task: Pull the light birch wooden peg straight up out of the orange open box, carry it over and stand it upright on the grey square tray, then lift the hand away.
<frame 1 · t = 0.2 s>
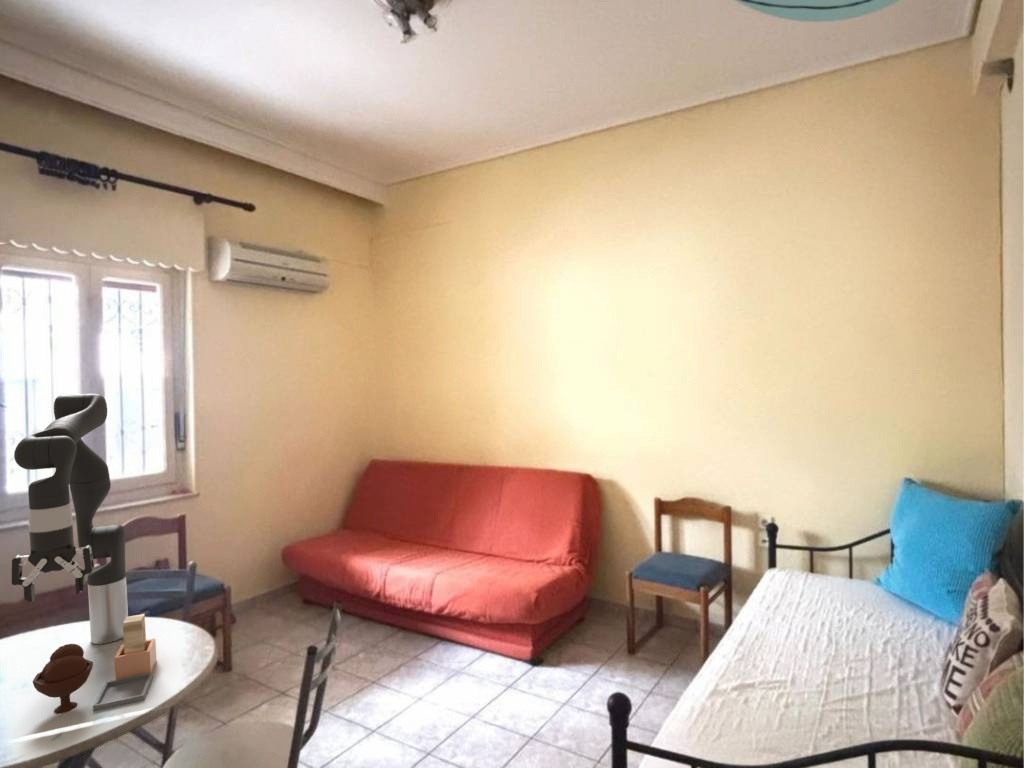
hand: (55, 596, 127), 29 cm above the table, tool pointing down, fingers open, 8 cm apart
grey square tray: (124, 696, 137), on the table
birch peg: (136, 671, 147), point 1 cm above the table, touching orange open box
orange open box: (136, 674, 147), on the table
ice cream bowl: (66, 711, 132), on the table
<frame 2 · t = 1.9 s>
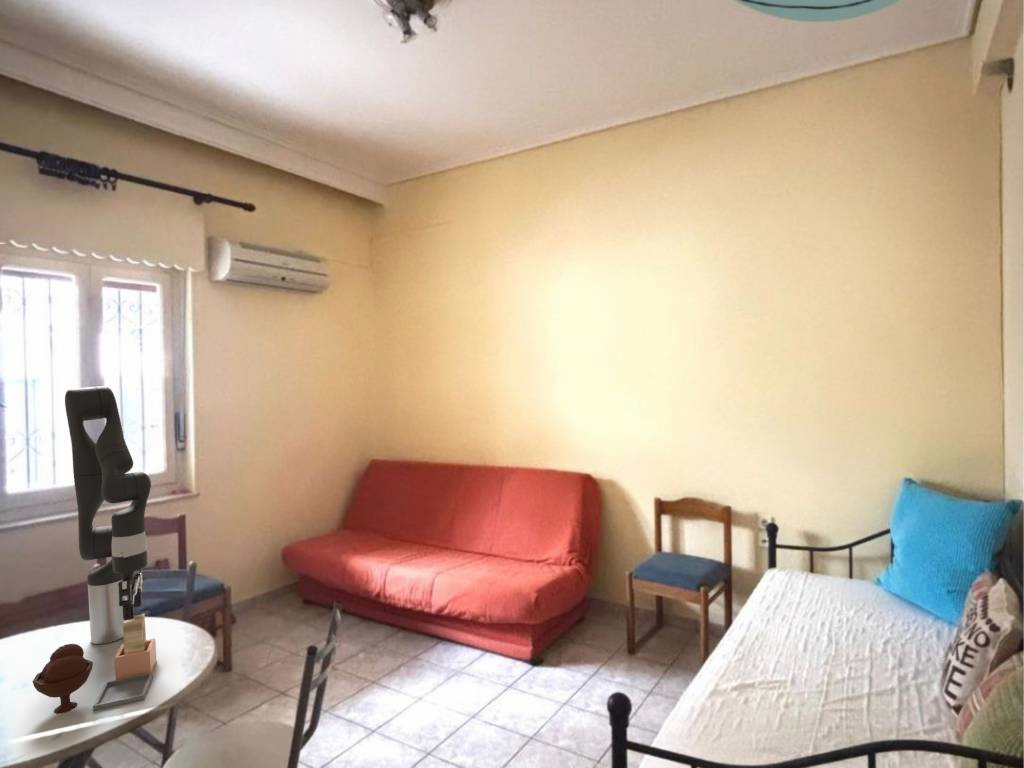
hand: (132, 612, 146), 16 cm above the table, tool pointing down, fingers open, 8 cm apart
nothing on the table moved.
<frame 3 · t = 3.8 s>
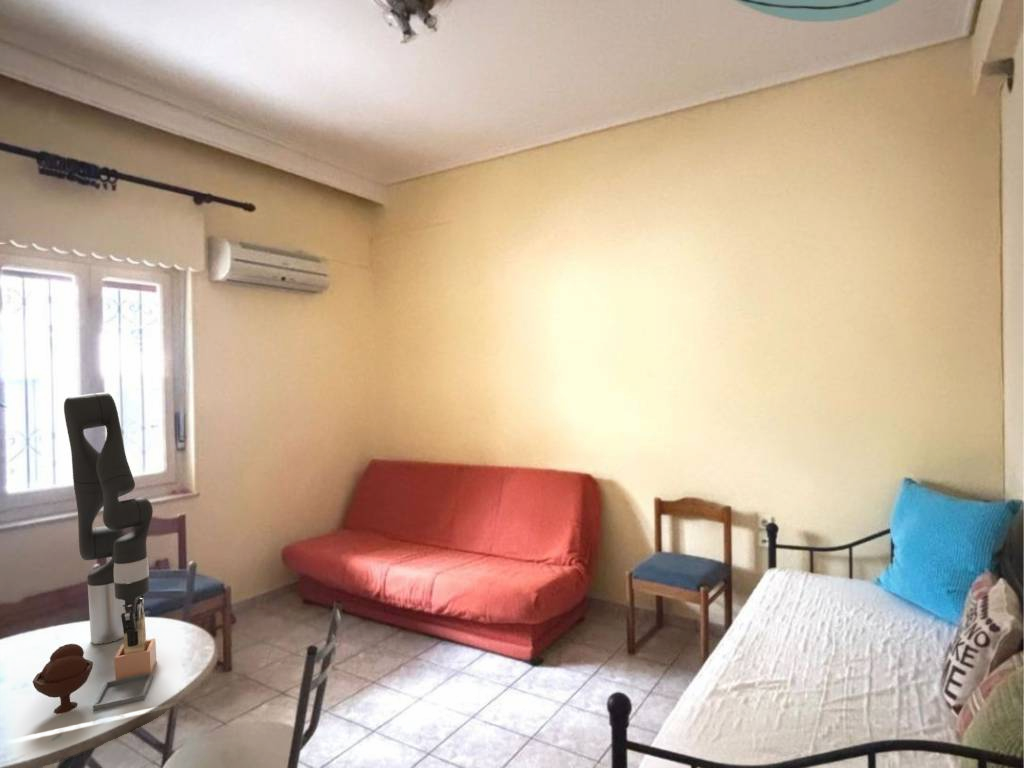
hand: (135, 641, 147), 9 cm above the table, tool pointing down, fingers closed on birch peg, 4 cm apart
birch peg: (136, 671, 147), point 1 cm above the table, touching gripper, orange open box
everything else where it was.
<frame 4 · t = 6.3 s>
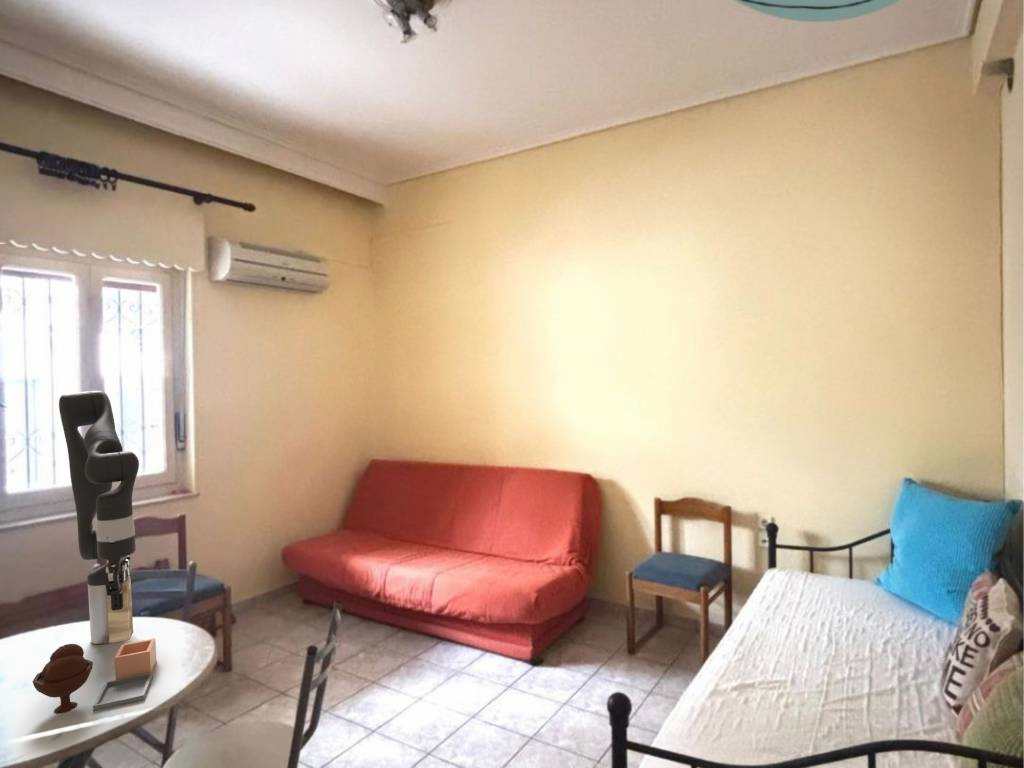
hand: (119, 605, 137), 22 cm above the table, tool pointing down, fingers closed on birch peg, 4 cm apart
birch peg: (121, 637, 137), point 15 cm above the table, touching gripper
everything else where it was.
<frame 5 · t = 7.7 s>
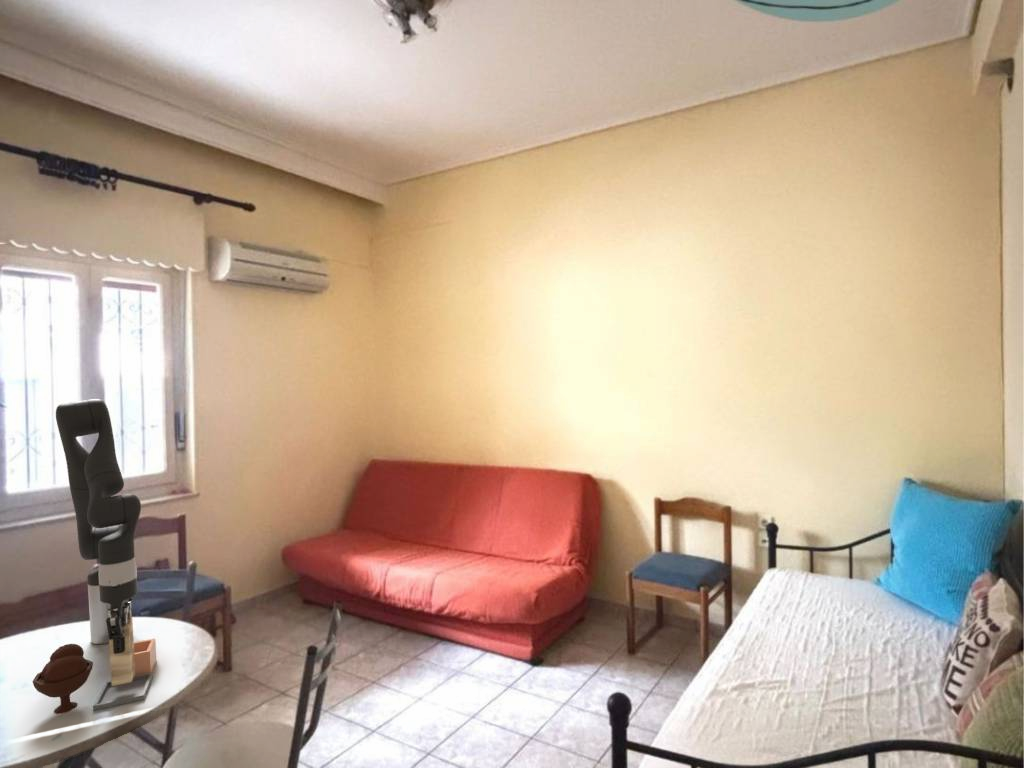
hand: (121, 647, 137), 12 cm above the table, tool pointing down, fingers closed on birch peg, 4 cm apart
birch peg: (123, 679, 137), point 4 cm above the table, touching gripper
everything else where it was.
when the fingers open (10 cm above the table, at t = 8.8 s): birch peg drops 1 cm, resting on grey square tray.
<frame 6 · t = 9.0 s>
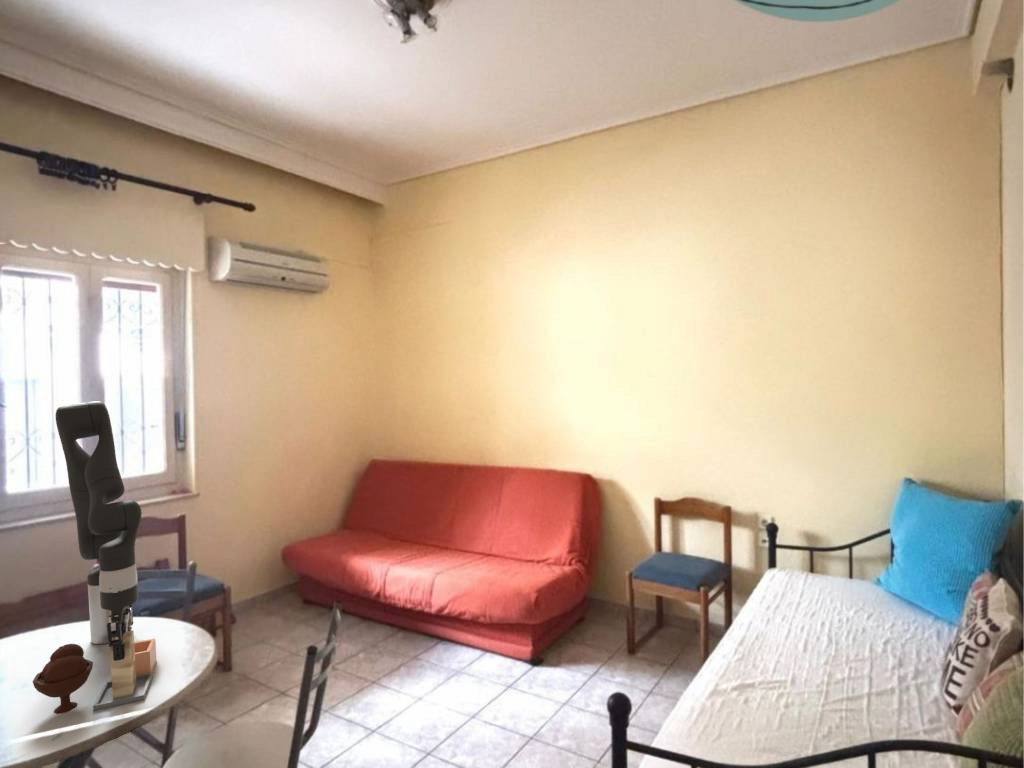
hand: (122, 653, 137), 11 cm above the table, tool pointing down, fingers open, 5 cm apart
birch peg: (124, 691, 137), point 1 cm above the table, touching grey square tray
everything else where it was.
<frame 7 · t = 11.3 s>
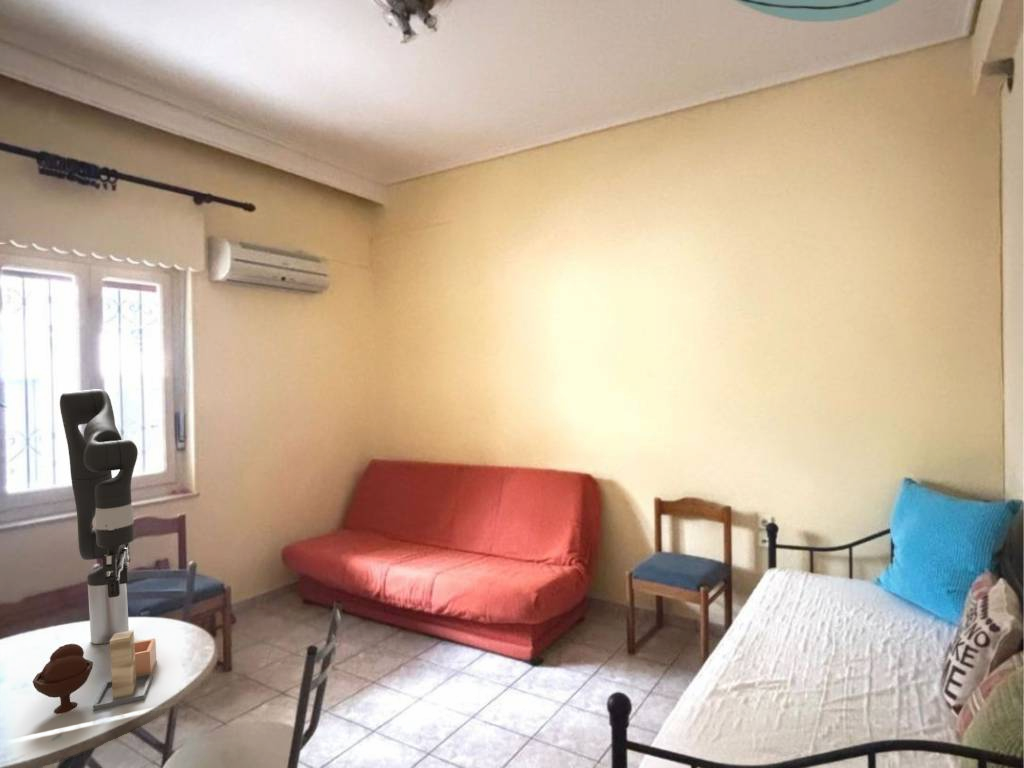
hand: (118, 589, 137), 26 cm above the table, tool pointing down, fingers open, 8 cm apart
nothing on the table moved.
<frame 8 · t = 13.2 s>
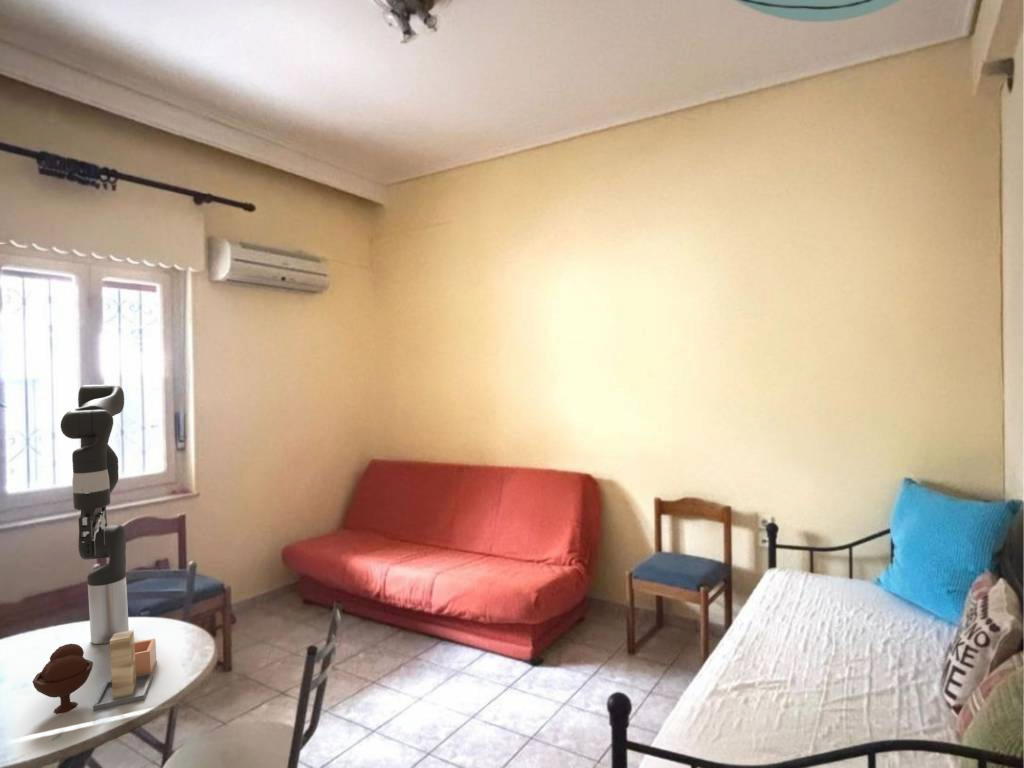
hand: (95, 551, 145), 33 cm above the table, tool pointing down, fingers open, 8 cm apart
nothing on the table moved.
at the end: birch peg inside the target area on the grey square tray (0.1 cm from its centre), point 1.0 cm above the grey square tray's base; birch peg tilted 0°; the gripper is holding nothing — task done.
